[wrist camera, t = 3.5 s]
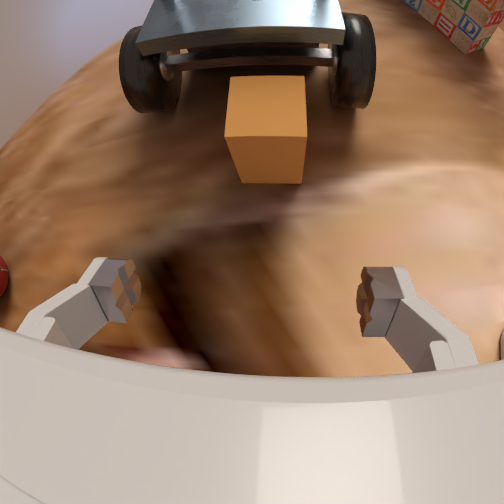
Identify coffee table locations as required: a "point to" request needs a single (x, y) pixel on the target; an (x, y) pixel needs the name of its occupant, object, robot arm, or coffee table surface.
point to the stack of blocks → (462, 20)
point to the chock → (267, 128)
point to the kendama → (3, 276)
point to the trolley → (245, 46)
